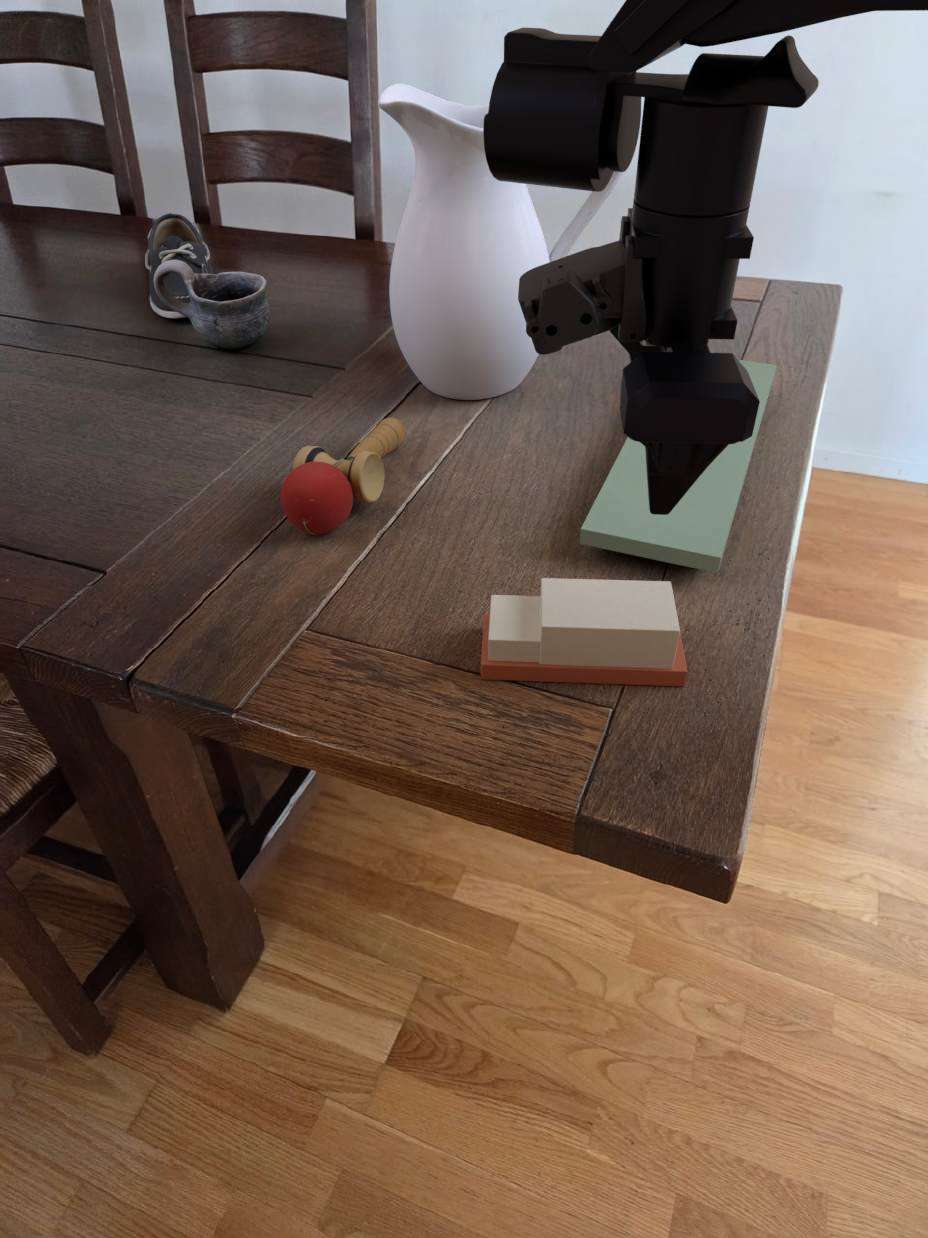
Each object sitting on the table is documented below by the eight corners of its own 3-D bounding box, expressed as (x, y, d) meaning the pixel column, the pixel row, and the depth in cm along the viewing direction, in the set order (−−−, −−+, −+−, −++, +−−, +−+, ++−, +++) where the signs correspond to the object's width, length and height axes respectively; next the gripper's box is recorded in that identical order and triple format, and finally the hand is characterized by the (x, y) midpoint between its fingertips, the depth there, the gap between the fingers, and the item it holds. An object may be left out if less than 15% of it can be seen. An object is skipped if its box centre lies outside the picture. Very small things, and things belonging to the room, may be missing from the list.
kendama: (350, 450, 86) (254, 526, 72) (359, 391, 83) (258, 459, 68) (420, 476, 85) (336, 558, 71) (432, 417, 81) (345, 491, 67)
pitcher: (395, 417, 89) (372, 110, 71) (395, 350, 102) (375, 74, 83) (624, 407, 90) (659, 101, 71) (595, 341, 102) (619, 67, 84)
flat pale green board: (668, 376, 95) (671, 350, 93) (770, 391, 92) (776, 364, 90) (577, 558, 70) (580, 528, 68) (714, 588, 67) (721, 557, 65)
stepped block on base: (674, 633, 63) (685, 580, 60) (684, 687, 59) (696, 632, 55) (484, 627, 64) (484, 574, 60) (480, 680, 60) (480, 625, 56)
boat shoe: (223, 322, 109) (210, 262, 104) (148, 330, 107) (132, 269, 102) (218, 259, 127) (208, 205, 122) (155, 265, 126) (141, 211, 121)
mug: (281, 352, 102) (267, 265, 95) (173, 368, 99) (151, 280, 92) (269, 322, 109) (255, 239, 102) (168, 336, 106) (147, 252, 99)
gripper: (532, 154, 50) (524, 399, 61) (526, 263, 36) (517, 558, 47) (724, 154, 50) (683, 402, 60) (794, 265, 36) (726, 564, 46)
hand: (651, 471), depth 53 cm, fingers open, 9 cm apart
